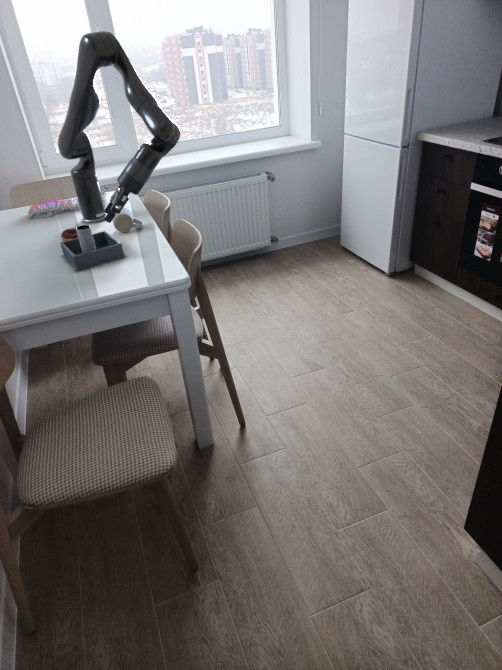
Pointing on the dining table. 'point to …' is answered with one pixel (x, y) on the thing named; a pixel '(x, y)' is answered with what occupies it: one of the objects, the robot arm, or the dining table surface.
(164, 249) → the dining table surface
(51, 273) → the dining table surface
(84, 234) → the white and black tumbler
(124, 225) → the ceramic mug
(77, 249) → the dark grey open tray
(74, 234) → the donut
